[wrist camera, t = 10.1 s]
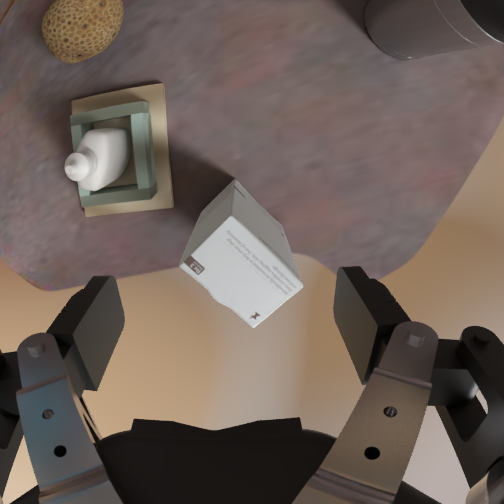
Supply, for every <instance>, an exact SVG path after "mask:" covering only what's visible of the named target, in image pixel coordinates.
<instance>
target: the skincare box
mask: <svg viewBox="0 0 504 504" xmlns="http://www.w3.org/2000/svg"><path fill="white" fill-rule="evenodd" d="M179 267H180V268H182V269H183V270H184V271H185V272H187V273H188V274H189V275H190V276H191V277H193V278H194V279H195V280H196V281H198V282H199V283H200V284H201V285H202V286H203V287H205V288H206V289H207V290H208V291H209V292H210V294H211V295H212V297H213V298H214V299H215V300H216V301H218V302H219V303H221V304H223V305H225V306H227V307H229V308H230V309H231V310H232V311H234V312H235V313H236V314H237V315H238V316H239V317H241V318H242V319H243V320H244V321H245V322H246V323H247V324H248V325H249V326H250V327H252V328H255V327H256V326H257V325H258V324H259V323H260V322H262V321H263V320H264V319H265V318H267V317H268V316H269V315H270V314H271V313H273V312H274V311H275V310H276V309H277V308H278V307H280V306H281V305H282V304H283V303H284V302H285V301H287V300H288V299H289V298H290V297H292V296H293V295H294V294H295V293H297V292H298V291H299V290H300V289H301V288H302V287H303V284H302V281H301V278H300V276H299V273H298V270H297V267H296V264H295V261H294V258H293V255H292V252H291V249H290V246H289V243H288V241H287V238H286V235H285V232H284V229H283V227H282V225H281V224H280V223H279V222H278V221H277V220H276V219H274V218H273V217H272V216H271V215H270V214H269V213H268V212H267V211H266V210H265V209H264V208H263V207H262V206H261V205H260V204H259V203H258V202H257V201H256V200H255V199H254V198H253V197H252V196H251V195H250V194H249V193H248V192H247V191H246V190H245V188H244V187H243V186H242V185H241V184H240V183H239V182H238V181H237V180H236V179H234V180H233V181H232V182H231V183H230V184H229V185H228V186H227V187H226V188H225V189H224V190H223V191H222V192H221V193H220V194H219V195H217V196H216V197H215V198H214V199H213V200H212V201H211V202H210V203H209V204H208V205H207V206H206V207H205V208H204V210H203V211H202V212H201V213H200V216H199V218H198V220H197V223H196V225H195V227H194V229H193V232H192V234H191V236H190V239H189V241H188V244H187V246H186V248H185V251H184V253H183V256H182V258H181V260H180V262H179Z"/></svg>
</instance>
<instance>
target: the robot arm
mask: <svg viewBox="0 0 504 504" xmlns="http://www.w3.org/2000/svg"><path fill="white" fill-rule="evenodd" d="M364 21H365V26H366V29H367V31H368V33H369V35H370V37H371V39H372V40H373V42H374V43H375V44H376V45H377V46H378V47H379V48H380V49H381V50H382V51H384V52H385V53H386V54H388V55H390V56H392V57H394V58H397V59H400V60H411V59H418V58H423V57H426V56H431V55H436V54H441V53H447V52H452V51H458V50H464V49H471V48H478V47H485V46H493V45H502V44H504V0H371V1H370V2H369V3H368V4H367V6H366V9H365V13H364ZM333 308H334V318H335V322H336V324H337V326H338V329H339V331H340V333H341V336H342V338H343V340H344V342H345V345H346V347H347V350H348V352H349V354H350V356H351V359H352V361H353V364H354V366H355V369H356V371H357V373H358V376H359V378H360V381H361V383H362V385H366V384H367V385H366V387H365V388H364V390H363V392H362V394H361V396H360V398H359V400H358V402H357V404H356V406H355V408H354V410H353V411H352V413H351V415H350V417H349V419H348V421H347V422H346V425H345V426H344V428H343V429H342V431H341V433H340V435H339V436H338V438H335V437H333V436H331V435H328V434H325V433H322V432H318V431H314V430H309V429H302V426H301V421H300V418H299V417H298V418H287V419H276V420H260V421H255V422H251V423H247V424H243V425H239V426H234V427H230V428H226V429H221V430H207V429H203V428H198V427H194V426H190V425H185V424H182V423H178V422H174V421H159V420H144V419H134V420H133V424H132V428H131V430H129V431H123V432H119V433H116V434H112V435H110V436H107V437H105V438H102V436H101V434H100V433H99V431H98V428H97V426H96V424H95V422H94V420H93V418H92V416H91V414H90V411H89V409H88V407H87V405H86V403H85V400H84V398H83V397H82V393H83V391H84V390H92V391H97V390H98V387H99V385H100V382H101V380H102V377H103V375H104V372H105V370H106V367H107V365H108V363H109V360H110V358H111V355H112V353H113V351H114V348H115V346H116V344H117V342H118V339H119V337H120V335H121V332H122V330H123V327H124V321H125V319H124V318H125V317H124V311H123V307H122V303H121V299H120V296H119V291H118V287H117V283H116V279H115V278H114V276H93V277H92V279H91V280H90V281H89V282H88V284H87V285H86V287H85V288H84V289H81V290H80V291H79V292H77V293H76V294H74V295H73V296H72V297H71V298H70V300H69V301H68V302H67V304H66V306H64V308H63V309H62V311H61V313H59V315H58V316H57V317H56V319H55V320H54V322H53V323H52V324H51V326H50V327H49V329H48V330H47V332H46V333H37V334H34V335H31V336H29V337H27V338H26V339H25V340H24V341H22V342H21V344H20V345H19V347H18V349H17V351H15V352H8V353H2V352H1V350H0V504H3V501H2V497H3V493H4V490H5V487H6V483H7V480H8V477H9V474H10V471H11V468H12V465H13V462H14V459H15V457H16V454H17V451H18V449H19V446H20V443H21V440H22V438H23V435H24V437H25V441H26V445H27V448H28V453H29V456H30V460H31V463H32V467H33V469H34V473H35V476H36V479H37V482H38V485H37V486H35V487H34V488H32V489H31V490H29V491H28V492H26V493H25V494H24V495H22V496H21V497H19V498H17V499H16V500H15V501H13V502H12V503H10V504H441V503H439V502H438V501H436V500H434V499H432V498H431V497H429V496H427V495H425V494H424V493H422V492H420V491H419V490H417V489H415V488H414V487H412V486H410V485H409V484H407V483H406V482H404V481H402V479H403V476H404V474H405V471H406V468H407V466H408V463H409V460H410V458H411V455H412V452H413V449H414V446H415V443H416V440H417V437H418V434H419V431H420V428H421V425H422V421H423V418H424V415H425V411H426V408H427V406H435V407H436V410H437V412H438V414H439V416H440V418H441V420H442V422H443V424H444V427H445V429H446V431H447V434H448V436H449V438H450V440H451V443H452V445H453V447H454V450H455V452H456V454H457V457H458V459H459V461H460V464H461V467H462V469H463V472H464V474H465V477H466V479H467V482H468V485H469V487H470V491H469V493H468V495H467V498H466V504H504V345H503V343H502V342H501V341H500V340H499V338H498V337H497V336H496V335H495V334H494V333H493V332H492V331H490V330H488V329H486V328H483V327H480V326H470V327H467V328H465V329H464V330H463V332H462V334H461V337H460V339H459V340H449V339H438V335H437V333H436V332H435V331H434V330H433V329H432V328H431V327H429V326H427V325H425V324H423V323H420V322H413V321H411V320H410V318H409V317H408V316H407V314H406V313H405V312H404V310H403V309H402V308H401V306H400V305H399V304H398V302H396V300H395V298H394V297H393V296H392V295H391V293H390V292H389V290H388V289H387V288H386V286H385V285H383V284H382V283H380V282H379V281H377V280H376V279H369V277H368V276H367V275H366V273H365V272H364V271H363V269H362V268H361V267H360V266H352V267H340V268H339V269H338V272H337V280H336V289H335V298H334V307H333ZM478 389H480V391H481V393H482V394H483V396H484V398H485V399H486V401H487V405H488V413H487V414H486V412H485V410H484V409H483V407H482V405H481V403H480V402H479V400H478V398H477V397H476V393H477V391H478Z"/></svg>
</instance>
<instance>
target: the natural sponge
mask: <svg viewBox="0 0 504 504" xmlns="http://www.w3.org/2000/svg"><path fill="white" fill-rule="evenodd" d="M123 18H124V7H123V2H122V0H56V1H55V2H54V3H53V4H52V5H51V6H50V7H49V9H48V10H47V12H46V13H45V15H44V17H43V21H42V34H43V38H44V41H45V43H46V45H47V47H48V49H49V50H50V52H51V53H52V54H53V55H54V56H55V57H56V58H57V59H59V60H60V61H63V62H65V63H69V64H73V63H78V62H81V61H84V60H86V59H88V58H91V57H93V56H95V55H97V54H99V53H101V52H102V51H104V50H105V49H106V48H107V47H108V46H109V45H110V44H111V43H112V41H113V40H114V39H115V37H116V36H117V34H118V32H119V30H120V28H121V26H122V23H123Z"/></svg>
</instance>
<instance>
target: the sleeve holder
mask: <svg viewBox="0 0 504 504" xmlns="http://www.w3.org/2000/svg"><path fill="white" fill-rule="evenodd" d="M71 102H72V115H71V116H70V122H71V133H72V143H73V152H77V149H78V146H79V144H80V142H81V140H82V138H83V137H84V135H85V134H86V133H87V132H88V131H90V130H95V129H101V128H110V127H120V128H126V129H128V130H129V132H130V135H131V142H132V149H131V156H130V160H129V163H128V166H127V168H126V170H125V172H124V173H123V175H122V176H121V177H120V178H118V179H116V180H115V181H113V182H111V183H110V184H108V185H106V186H105V187H103V188H101V189H99V190H97V191H90V190H85V189H82V188H80V186H79V185H78V188H79V194H80V200H81V205H82V208H83V207H84V209H85V215H86V217H90V216H98V215H107V214H116V213H125V212H135V211H145V210H155V209H166V208H173V207H174V198H173V188H172V179H171V169H170V158H169V146H168V134H167V120H166V105H165V87H164V84H163V83H160V84H153V85H147V86H140V87H135V88H129V89H124V90H118V91H113V92H109V93H104V94H99V95H95V96H91V97H86V98H82V99H78V100H74V101H71Z"/></svg>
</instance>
